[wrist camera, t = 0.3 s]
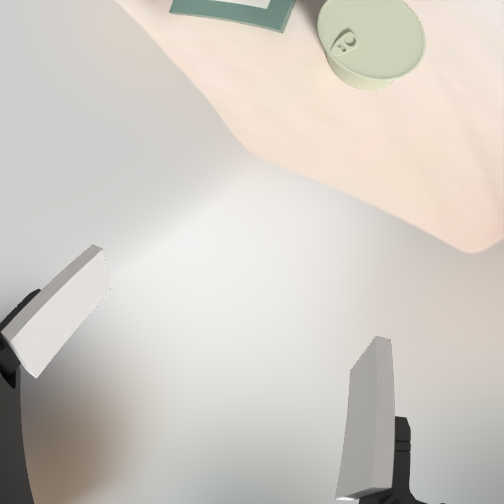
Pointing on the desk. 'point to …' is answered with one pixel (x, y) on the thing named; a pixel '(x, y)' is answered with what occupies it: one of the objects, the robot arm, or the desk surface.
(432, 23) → the desk surface
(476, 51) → the desk surface
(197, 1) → the board
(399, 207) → the desk surface
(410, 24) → the can
